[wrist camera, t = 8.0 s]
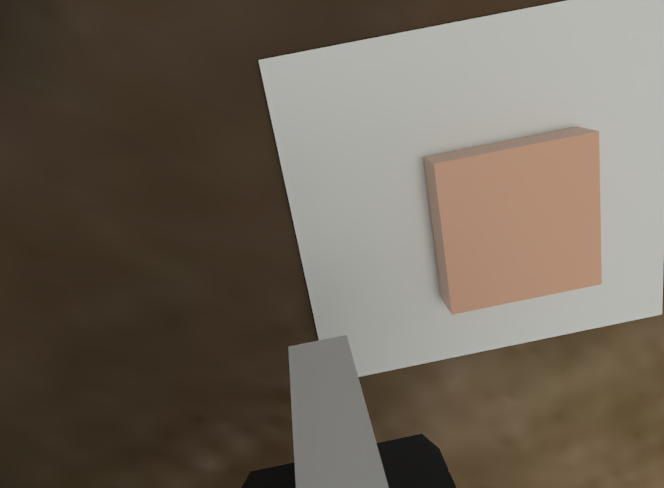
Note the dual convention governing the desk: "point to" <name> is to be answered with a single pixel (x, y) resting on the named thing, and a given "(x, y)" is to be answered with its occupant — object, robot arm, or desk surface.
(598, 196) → the tile
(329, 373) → the robot arm
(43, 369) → the desk surface
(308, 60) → the mat
